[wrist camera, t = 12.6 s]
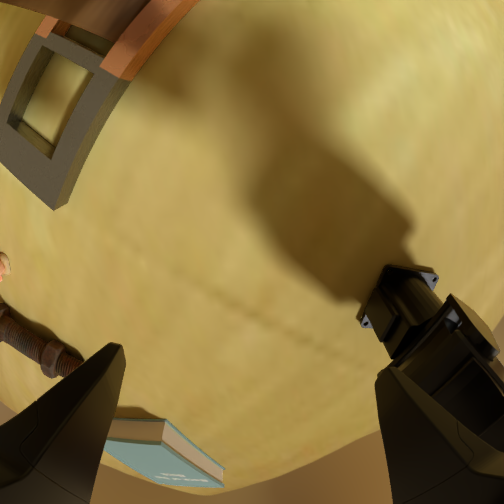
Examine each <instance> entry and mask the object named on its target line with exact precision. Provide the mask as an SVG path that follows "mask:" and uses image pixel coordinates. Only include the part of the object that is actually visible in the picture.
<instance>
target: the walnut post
mask: <svg viewBox="0 0 504 504" xmlns="http://www.w3.org/2000/svg"><path fill="white" fill-rule="evenodd" d="M150 1H151V0H0V2H2V3H7V4H11V5H15V6H19V7H22V8H26V9H29V10H32V11H36V12H39V13H42V14H45V15H48V16H51V17H54V18H56V19H59V20H62V21H64V22H67V23H70V24H72V25H75V26H77V27H80V28H82V29H84V30H87V31H89V32H91V33H94V34H96V35H98V36H100V37H102V38H105V39H107V40H109V41H111V42H113V43H116V42H117V40H118V39H119V38H120V36H121V35H122V34H123V32H124V31H125V30H126V29H127V27H128V26H129V25H130V24H131V22H132V21H133V20H134V19H135V18H136V16H137V15H138V14H139V13H140V12H141V11H142V10H143V8H144V7H145V6H146V5H147V4H148V3H149V2H150Z"/></svg>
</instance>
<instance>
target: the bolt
mask: <svg viewBox="0 0 504 504" xmlns="http://www.w3.org/2000/svg"><path fill="white" fill-rule="evenodd" d="M1 341H4V342H5V343H8V344H9V345H11V346H12V347H14V348H15V349H16V350H18V351H19V352H21V353H22V354H24V355H25V356H27V357H29V358H30V359H32V360H34V361H35V362H37V363H38V364H40V366H41V370H42V372H43V374H44V375H46V376H47V377H49V378H51V379H52V378H55V377H57V376H58V375H60V376H62V377H64V378H65V377H66V376H67V375H68V374H70V373H71V372H72V371H73V370H75V369H76V368H77V367H79V366H80V365H81V364H82V363H83V361H82V362H81V360H80V361H79V359H76V358H74V357H72V356H70V355H69V354H67V353H66V349H65V346H64V345H63V344H62V343H60V342H58V341H56V340H52V341H50V342H49V343H48V342H46V341H44V340H43V339H41V338H40V337H38V336H36V335H34V334H33V333H31V332H30V331H28V330H26V329H25V328H24V327H22V326H21V325H19V324H17V323H16V322H15V321H14V320H13V319H11V315H10V309H9V307H8V306H6V305H5V304H4V303H0V342H1Z"/></svg>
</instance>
